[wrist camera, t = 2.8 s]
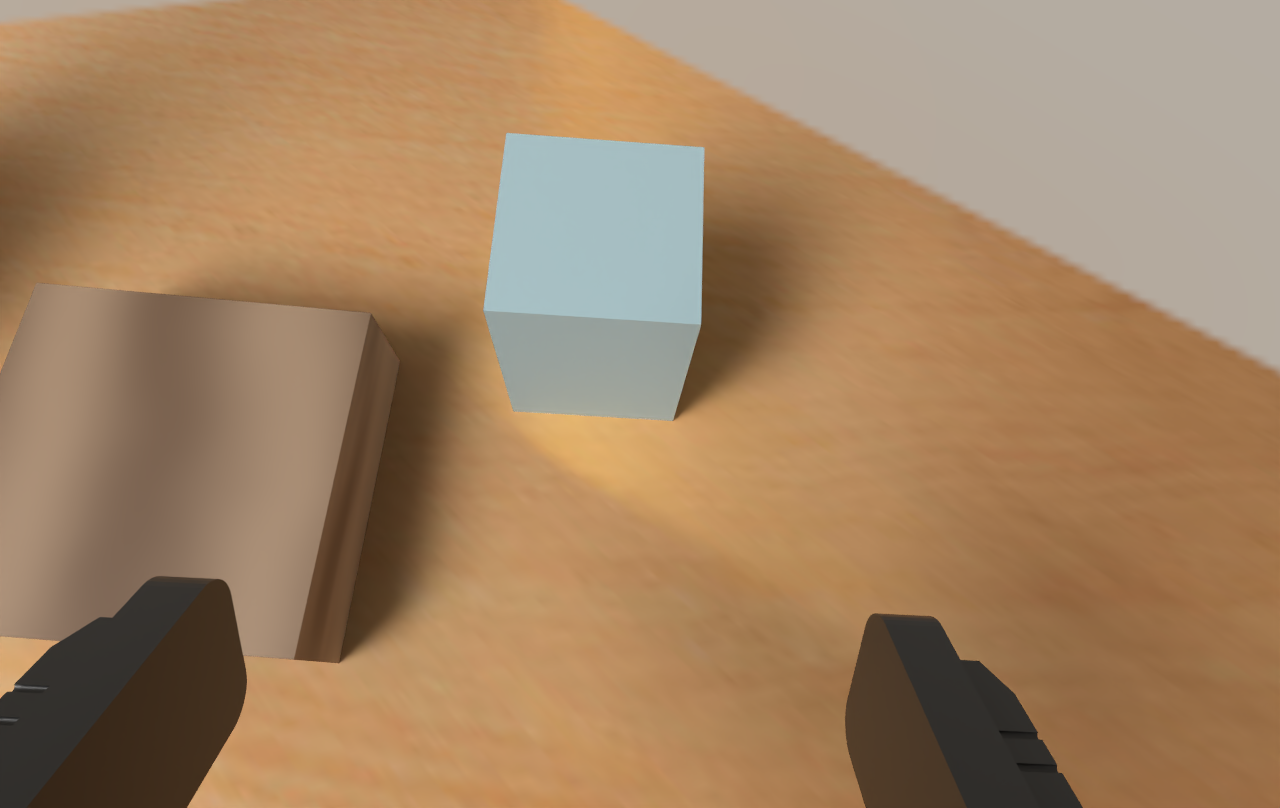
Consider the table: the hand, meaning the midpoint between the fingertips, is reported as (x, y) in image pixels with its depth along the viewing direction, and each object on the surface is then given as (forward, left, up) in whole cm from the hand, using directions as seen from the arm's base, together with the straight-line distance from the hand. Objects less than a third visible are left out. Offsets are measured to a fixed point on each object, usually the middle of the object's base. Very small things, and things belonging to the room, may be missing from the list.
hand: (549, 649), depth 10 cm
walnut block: (+12, -5, -15) cm, 20 cm away
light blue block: (0, -11, -15) cm, 18 cm away
